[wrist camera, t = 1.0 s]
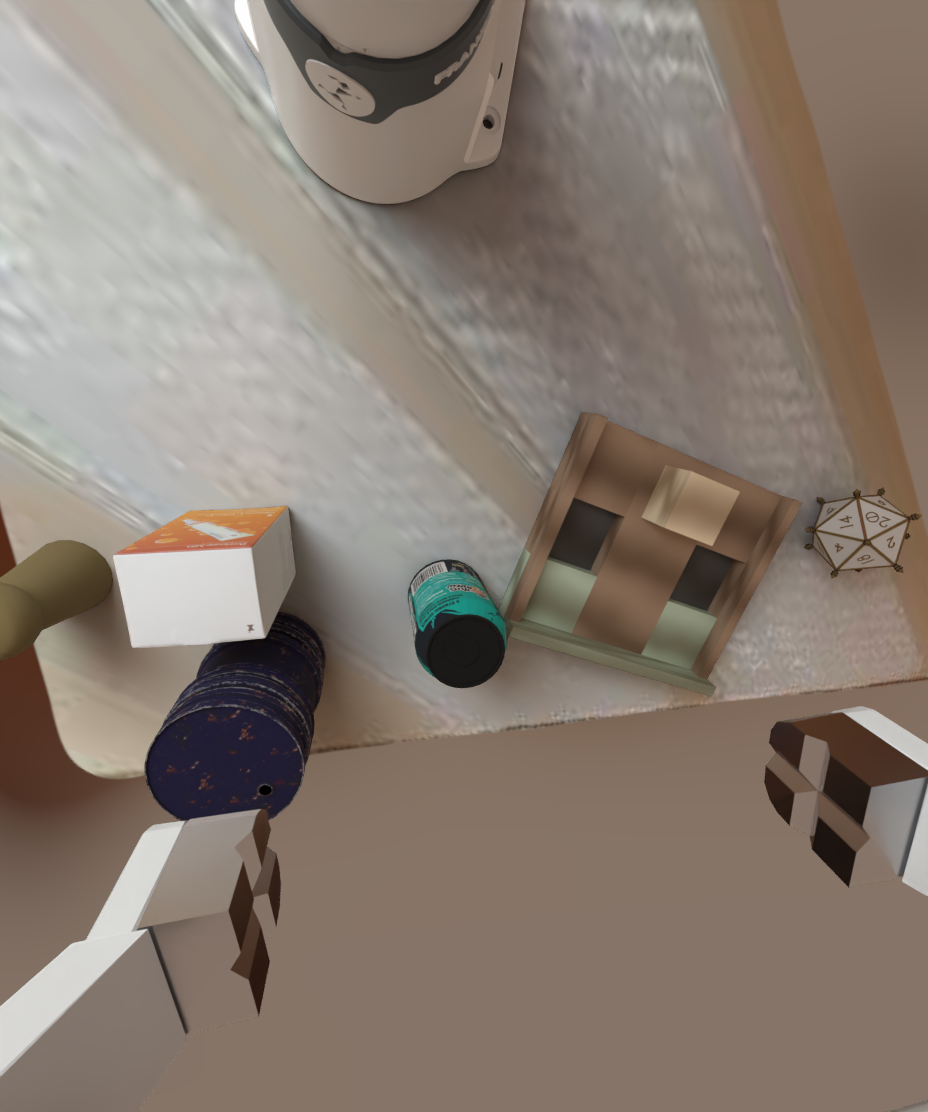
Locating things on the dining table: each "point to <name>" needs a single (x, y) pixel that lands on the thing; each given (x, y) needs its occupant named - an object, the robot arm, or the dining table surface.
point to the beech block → (690, 504)
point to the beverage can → (456, 624)
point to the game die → (860, 532)
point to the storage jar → (241, 726)
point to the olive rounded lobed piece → (49, 591)
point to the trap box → (637, 562)
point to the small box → (207, 577)
